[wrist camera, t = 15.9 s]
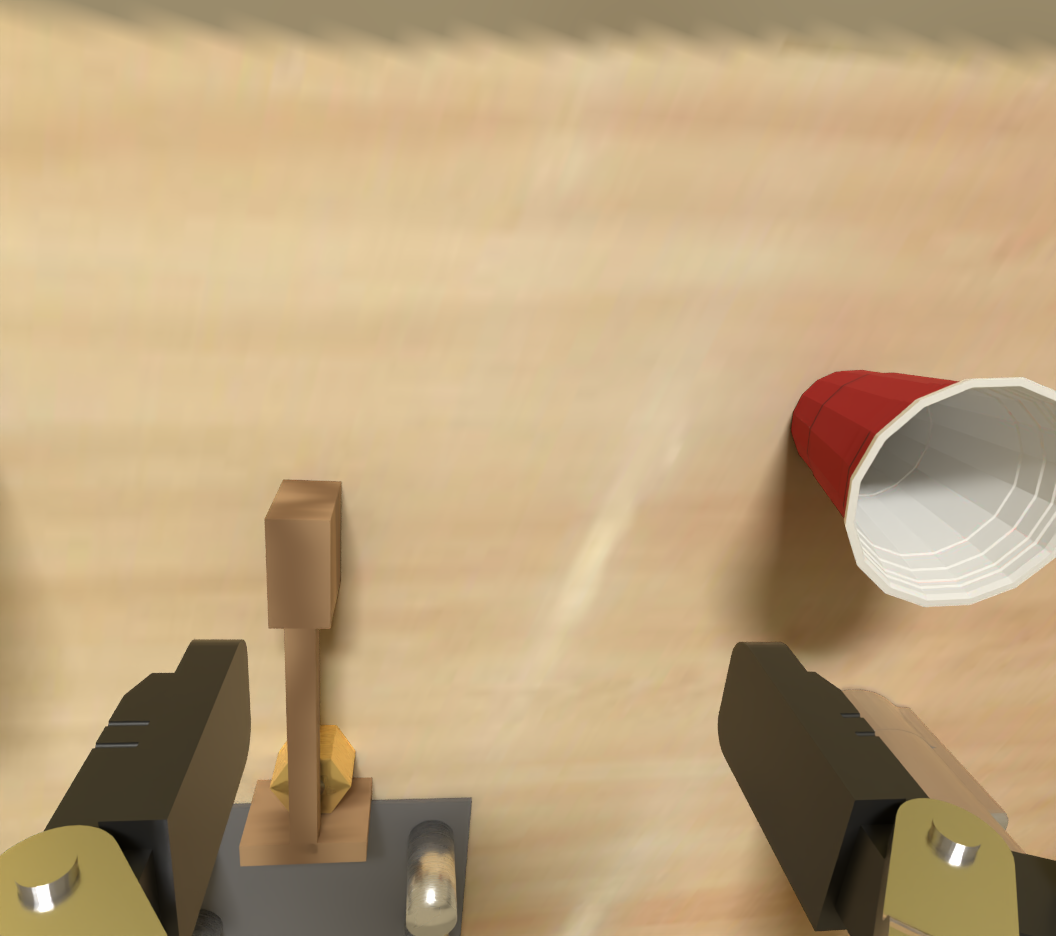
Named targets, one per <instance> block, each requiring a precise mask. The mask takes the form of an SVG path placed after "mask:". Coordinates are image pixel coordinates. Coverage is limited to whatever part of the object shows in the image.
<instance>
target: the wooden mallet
mask: <svg viewBox="0 0 1056 936" xmlns="http://www.w3.org/2000/svg"><path fill="white" fill-rule="evenodd" d="M265 541H266V570H267V598H268V626H269V628H281V629H284V641H285V678H286V715H287V752H288V789H289V811H288V810H287V809H286V808H285V807H284V805H283V804H282V803H281V802H280V800H279V799H278V798H277V797H276V795H275V794H274V793H273V792H272V791H271V789H270V784H271V781H272V780H258V781H257V785H256V788H255V792H254V795H253V799H252V802H251V806H250V810H249V813H248V817H247V820H246V824H245V827H244V831H243V835H242V838H241V842H240V845H239V852H240V866H263V865H288V864H313V863H338V862H363V861H366V857H367V846H368V834H369V823H370V811H371V800H372V778H352V783H351V787H350V788H349V790H348V791H347V792H346V794H345V795H344V796H343V798H342V799H341V800H340V802H339V803H338V804H337V806H336V807H335V808H334V810H333V811H332V812H331V813H321V799H320V673H319V629H330V628H331V624H332V619H333V614H334V609H335V605H336V600H337V595H338V591H339V586H340V581H341V482H336V481H308V480H283V482H282V484H281V486H280V488H279V490H278V492H277V494H276V496H275V498H274V500H273V503H272V505H271V507H270V509H269V511H268V513H267V515H266V517H265Z"/></svg>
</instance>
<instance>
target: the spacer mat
mask: <svg viewBox="0 0 1056 936" xmlns="http://www.w3.org/2000/svg"><path fill="white" fill-rule="evenodd" d="M471 803H472V799H471V798H443V799H404V800H371V811H370V823H369V834H368V846H367V857H366V861H363V862H338V863H313V864H288V865H263V866H240V852H239V845H240V842H241V838H242V835H243V831H244V827H245V824H246V820H247V817H248V813H249V810H250V806H251V804H233V806H232V809H231V812H230V816H229V819H228V822H227V825H226V828H225V832H224V835H223V838H222V841H221V844H220V848H219V851H218V854H217V857H216V860H215V864H214V867H213V870H212V873H211V876H210V880H209V883H208V886H207V889H206V892H205V896H204V899H203V902H202V905H201V908H200V909H204V910H209V911H211V912H213V913H215V914H217V915H218V916H219V917H220V919H221V920H222V924H223V927H222V931H221V934H220V936H404V915H405V911H406V898H407V861H408V836H409V833H410V831H411V830H412V829H413V827H415V826H416V825H417V824H419V823H421V822H424V821H428V820H438V821H442V822H444V823H446V824H448V825H449V826H450V827H451V829H452V830H453V834H454V854H455V877H456V901H457V923H456V925H455V927H454V928H453V929H452V930H451V931H450V932H449V936H460V934H461V923H462V911H463V899H464V887H465V875H466V863H467V851H468V839H469V827H470V815H471Z"/></svg>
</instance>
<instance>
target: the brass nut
mask: <svg viewBox="0 0 1056 936" xmlns="http://www.w3.org/2000/svg"><path fill="white" fill-rule="evenodd" d="M354 759H355V750H354V748H353V747H352V746H351V744H350V743H349V741H348V740H347V739H346V737H345V736H344V735H343V733H342V732H341V731H340V729H339V728H338V726H337V725H320V799H321V813H331V812H332V811H333V810H334V808H335V807H336V806H337V804H338V803H339V802H340V800H341V799H342V798H343V796H344V795H345V794H346V792H347V791H348V790H349V788H350V787H351V783H352V775H353V767H354ZM270 789H271V791H272V792H273V793H274V794H275V795H276V797H277V798H278V799H279V800H280V802H281V803H282V804H283V805H284V807H285V808H286V809H287V810H288V811H289V789H288V752H287V741H286V743H285V744H284V746H283V747H282V748H281V750H280V751H279V753H278V757H277V761H276V765H275V769H274V773H273V777H272V781H271V784H270Z"/></svg>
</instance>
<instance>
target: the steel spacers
mask: <svg viewBox="0 0 1056 936" xmlns="http://www.w3.org/2000/svg"><path fill="white" fill-rule="evenodd" d="M456 923H457V901H456V877H455V854H454V834H453V830H452V829H451V827H450V826H449V825H448V824H446V823H444V822H442V821H438V820H428V821H424V822H421V823H419V824H417V825H416V826H415V827H413V829H412V830H411V831H410V833H409V836H408V861H407V898H406V911H405V915H404V936H449V932H450V931H451V930H452V929H453V928H454V927H455V925H456ZM222 927H223V924H222V920H221V919H220V917H219V916H218V915H217V914H215V913H213V912H211V911H209V910H204V909H200V912H199V915H198V918H197V921H196V925H195V928H194V931H193V934H192V936H220V934H221V931H222Z"/></svg>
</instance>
